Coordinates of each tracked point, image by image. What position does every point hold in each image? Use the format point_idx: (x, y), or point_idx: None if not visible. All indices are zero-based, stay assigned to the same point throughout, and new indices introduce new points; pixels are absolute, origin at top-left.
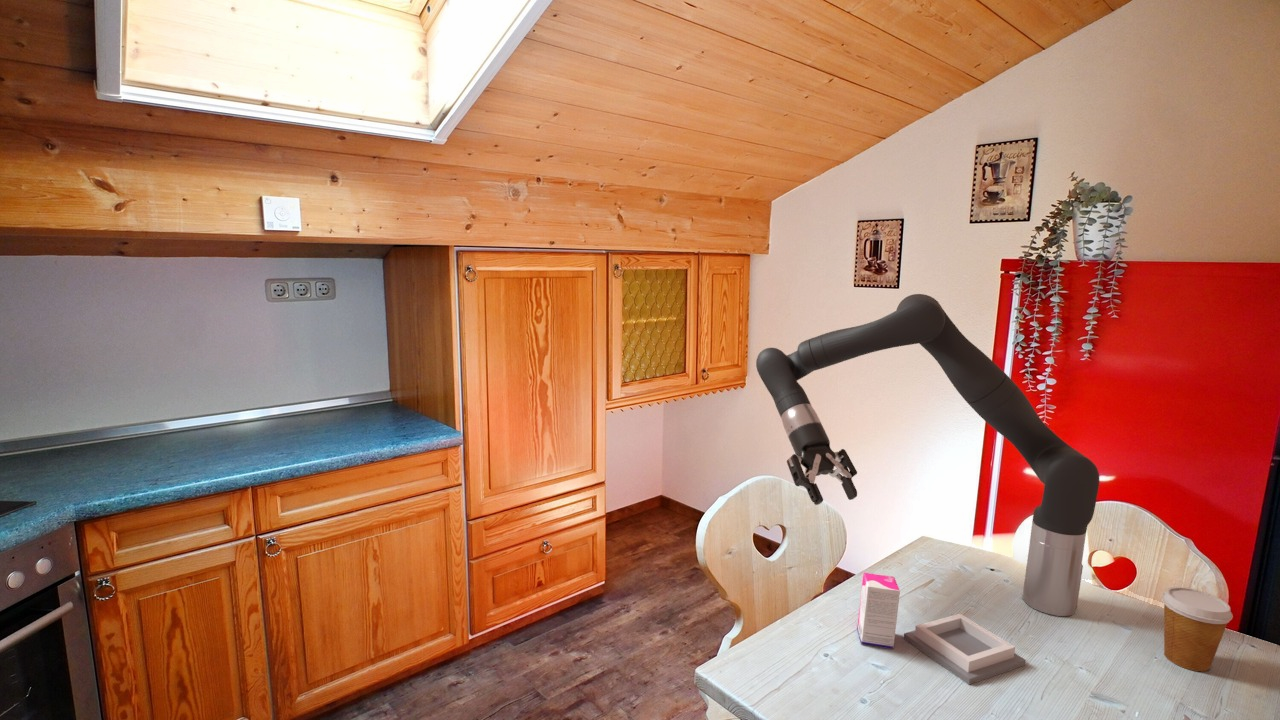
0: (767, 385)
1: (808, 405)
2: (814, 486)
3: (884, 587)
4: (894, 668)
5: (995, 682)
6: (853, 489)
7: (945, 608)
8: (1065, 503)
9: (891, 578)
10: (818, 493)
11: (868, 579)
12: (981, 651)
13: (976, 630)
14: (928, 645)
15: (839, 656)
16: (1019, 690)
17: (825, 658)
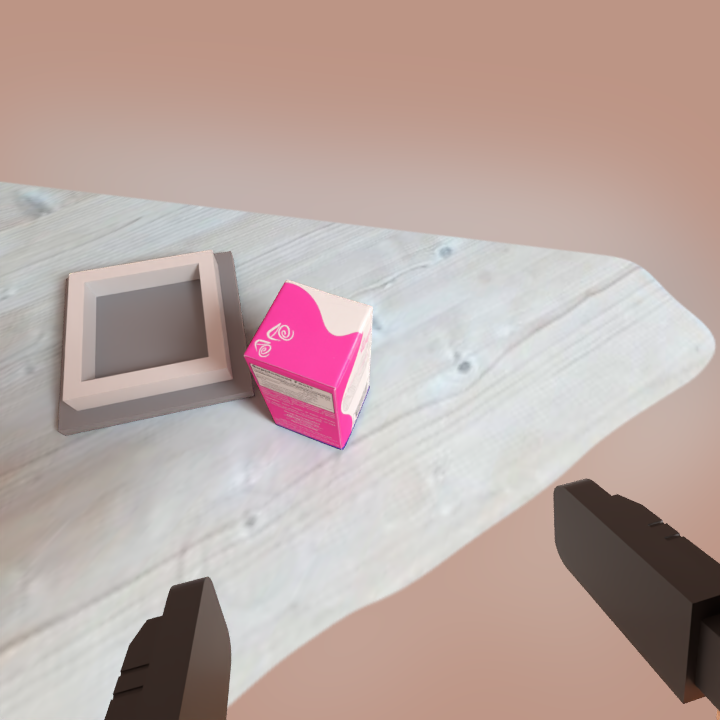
0: None
1: None
2: (698, 566)
3: (322, 298)
4: None
5: None
6: (178, 624)
7: (26, 508)
8: None
9: (261, 343)
10: (623, 511)
11: (346, 342)
12: (130, 311)
13: (86, 343)
14: (228, 344)
15: (437, 358)
16: (156, 236)
17: (470, 356)
